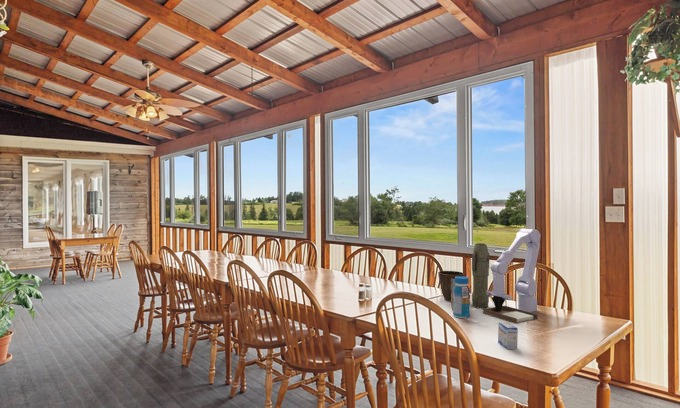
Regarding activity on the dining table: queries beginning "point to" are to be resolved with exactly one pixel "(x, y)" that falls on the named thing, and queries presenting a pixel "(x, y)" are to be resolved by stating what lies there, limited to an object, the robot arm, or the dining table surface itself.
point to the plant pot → (447, 282)
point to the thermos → (480, 276)
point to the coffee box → (452, 291)
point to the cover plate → (519, 316)
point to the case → (507, 309)
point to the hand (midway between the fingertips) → (498, 311)
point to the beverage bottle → (461, 297)
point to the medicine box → (507, 335)
